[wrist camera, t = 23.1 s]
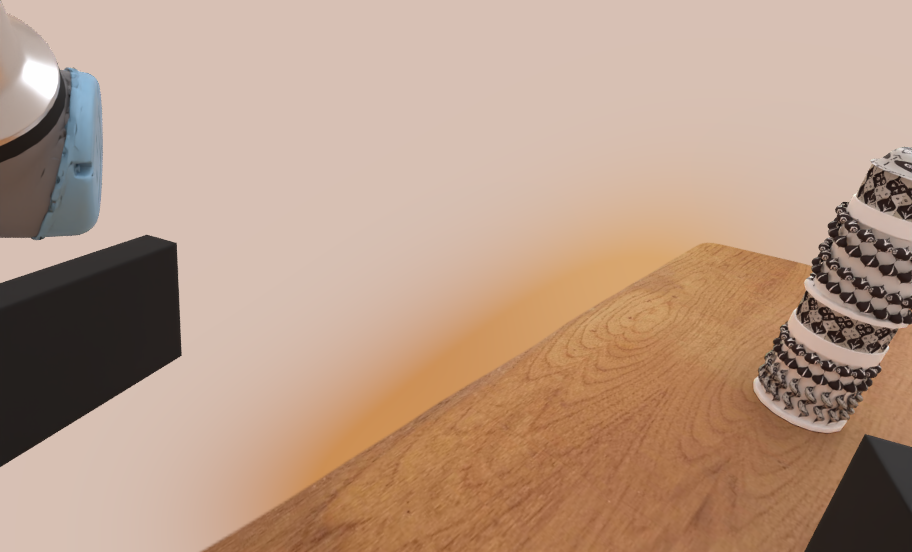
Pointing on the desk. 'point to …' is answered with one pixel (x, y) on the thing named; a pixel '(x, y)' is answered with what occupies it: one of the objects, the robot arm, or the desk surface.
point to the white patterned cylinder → (847, 305)
